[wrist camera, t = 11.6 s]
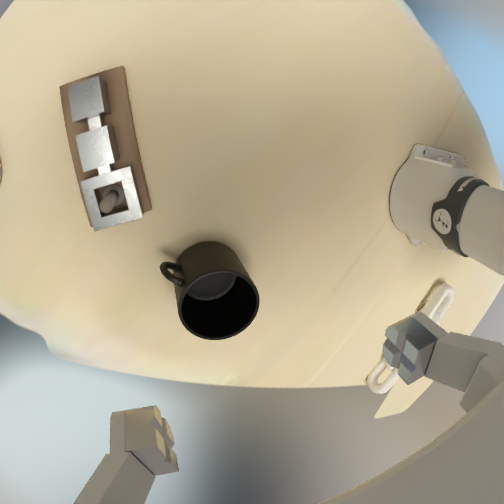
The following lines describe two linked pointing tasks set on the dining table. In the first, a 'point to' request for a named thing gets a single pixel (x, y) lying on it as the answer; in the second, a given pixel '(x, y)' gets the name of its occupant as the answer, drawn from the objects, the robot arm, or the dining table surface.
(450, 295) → the chain
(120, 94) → the brown board with peg
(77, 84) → the hasp latch
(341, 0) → the dining table surface
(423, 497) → the robot arm
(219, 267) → the mug
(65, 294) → the dining table surface
